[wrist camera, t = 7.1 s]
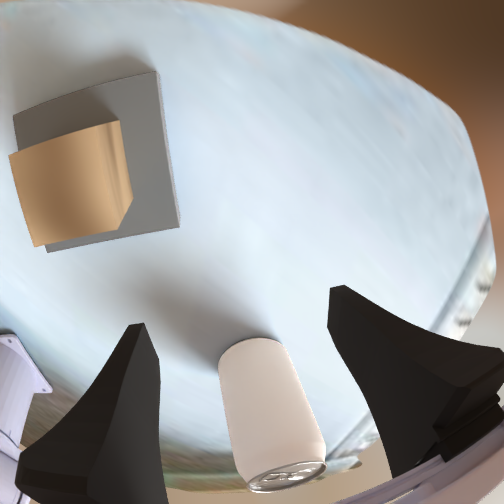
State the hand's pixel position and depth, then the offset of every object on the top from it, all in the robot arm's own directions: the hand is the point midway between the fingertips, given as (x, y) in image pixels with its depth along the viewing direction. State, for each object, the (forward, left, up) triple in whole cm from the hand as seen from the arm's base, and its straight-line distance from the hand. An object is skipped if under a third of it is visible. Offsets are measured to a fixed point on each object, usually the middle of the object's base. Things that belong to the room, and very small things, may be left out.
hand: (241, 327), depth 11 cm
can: (+1, -13, -10) cm, 17 cm away
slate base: (-7, +6, -10) cm, 13 cm away
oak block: (-7, +6, -8) cm, 12 cm away
